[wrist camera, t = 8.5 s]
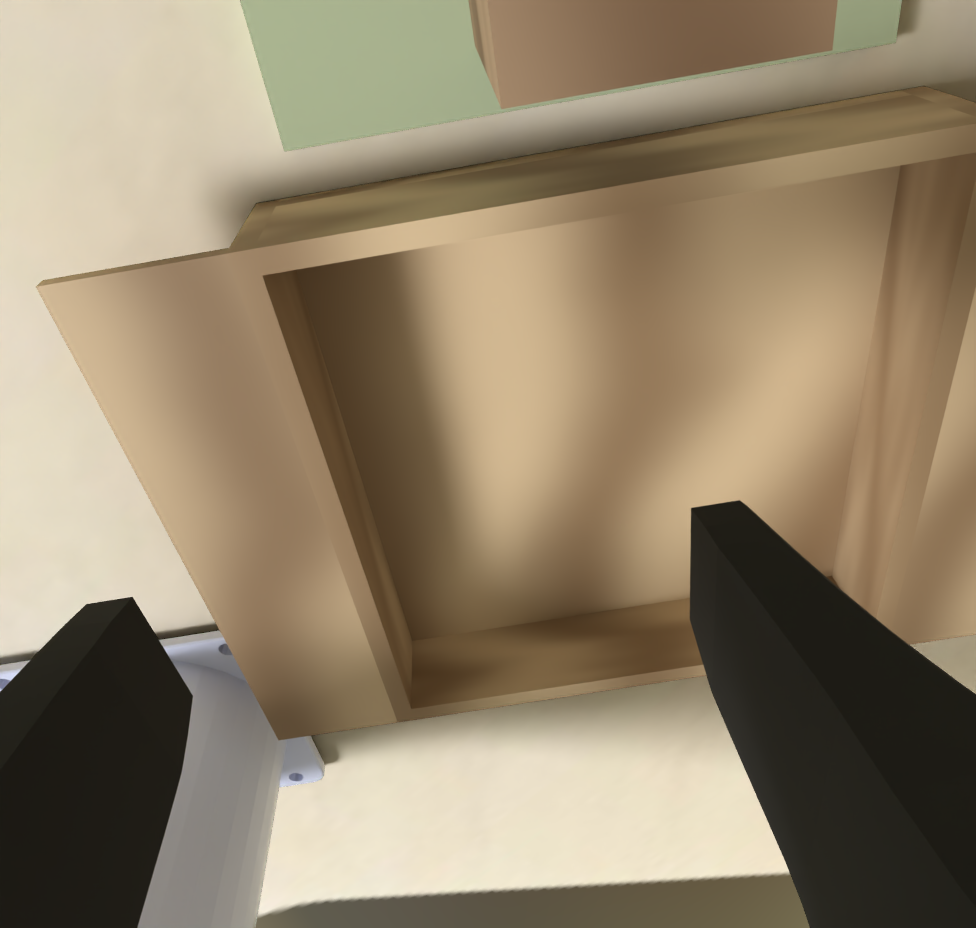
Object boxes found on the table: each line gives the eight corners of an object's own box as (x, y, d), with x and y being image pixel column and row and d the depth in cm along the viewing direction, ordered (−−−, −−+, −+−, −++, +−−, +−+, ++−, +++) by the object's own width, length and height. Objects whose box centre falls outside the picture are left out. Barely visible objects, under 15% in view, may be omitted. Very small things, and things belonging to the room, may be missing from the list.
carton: (293, 658, 24) (278, 740, 22) (95, 231, 16) (36, 287, 14) (951, 555, 23) (1012, 628, 21) (1097, 55, 15) (1224, 80, 13)
